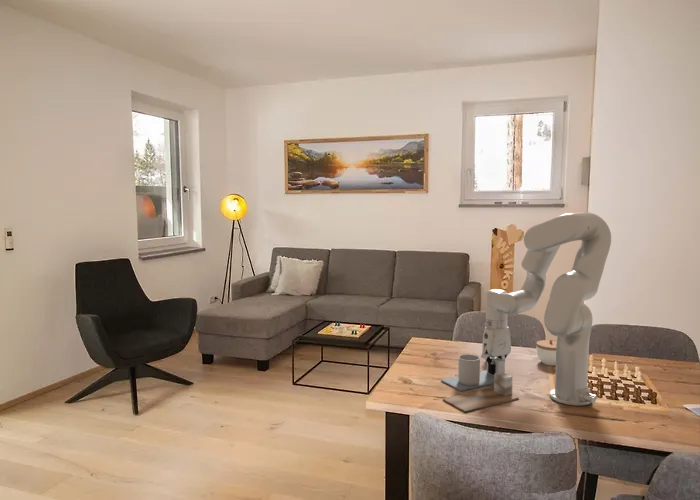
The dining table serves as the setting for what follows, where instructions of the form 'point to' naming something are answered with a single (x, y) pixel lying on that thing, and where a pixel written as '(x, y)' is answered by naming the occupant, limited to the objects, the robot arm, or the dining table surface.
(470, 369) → the cup
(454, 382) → the grey tray
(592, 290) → the robot arm
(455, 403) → the walnut strip
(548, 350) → the lidded jar
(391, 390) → the dining table surface
